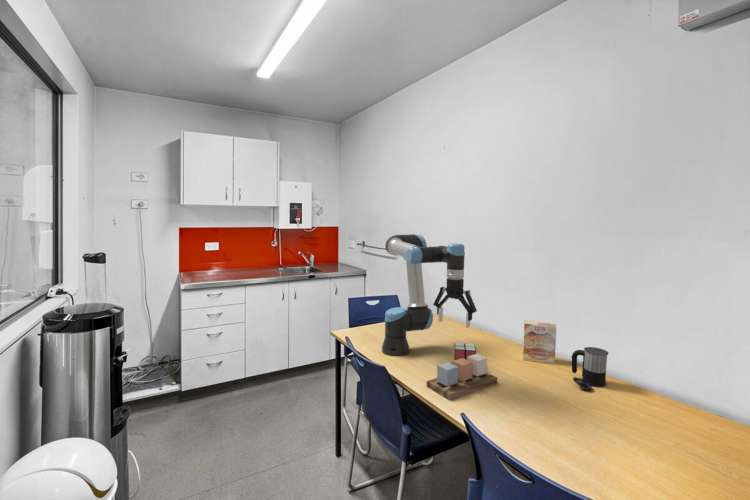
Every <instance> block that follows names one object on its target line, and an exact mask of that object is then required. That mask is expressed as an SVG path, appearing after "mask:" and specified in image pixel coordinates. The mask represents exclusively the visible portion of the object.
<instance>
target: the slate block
mask: <svg viewBox="0 0 750 500" xmlns="http://www.w3.org/2000/svg"><path fill="white" fill-rule="evenodd" d="M436 372H437V373H436V374H437V376H436V378H437V381H438V382H440V383H442V384H443V385H445V386H444V387H451V386H450V385H453V384H456V383H458V382H459V381H458V367H457V366H455V365H453V363H450V362H448V361H447V362H443V363H441V364H437V369H436Z"/></svg>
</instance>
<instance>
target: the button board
mask: <svg viewBox="0 0 750 500" xmlns="http://www.w3.org/2000/svg"><path fill="white" fill-rule="evenodd" d="M474 376H475V375H473V376H472V378H471V379H468V380H465V381H464V382H465V383H461V382H460V381H461V380H459V379H458V383H456V384H453V385H450V386H449V387H450V388H445V387H446V386H445V385H443V384H442V383H440V382H438V381H437V377H435V378H433V379H429V380H426V387H427V388H428V389H429V390H432V391H433V392H434V393H436V394H438V395H440V396H441V397H443V398H444V399H446V400H449V401H452V400H454V399H457V398H459V397H462V396H465V395H468V394H470V393H474V392H476V391H478V390H481V389H484V388H486V387H489V386H492V385H495V384H498V376H495V375H493V374H491V373H488V372H486V374H483V375H480V376H478V378H476V377H474Z"/></svg>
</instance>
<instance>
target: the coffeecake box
mask: <svg viewBox="0 0 750 500" xmlns="http://www.w3.org/2000/svg"><path fill="white" fill-rule="evenodd" d="M523 323H524V324H523V340H522V341H523V343H522V344H523V345H522V360H523V361H530V362H536V363H543V364H549V365H551V364H552V365H555V363H556V347H557V346H556V343H557V324H556V322H548V321H547V322H546V321H536V320H527V319H524V321H523Z"/></svg>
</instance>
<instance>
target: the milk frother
mask: <svg viewBox="0 0 750 500" xmlns="http://www.w3.org/2000/svg"><path fill="white" fill-rule="evenodd" d="M608 355H609V352H608V351H607V350H605V349H602V348H600V347H595V346H586V347H584V348H583V350H582V349H577V350H576V349H575V350H574V351H573V352H572V354H571V372H572V373H573V374H576V373H577V372H578V356H582V357H583V359H582V374H581V377H582V378H578V377H576V376H575V377H573V378H572V380H573V382H574V383H575V384H576V385H578V386H579V387H580V388H582V389H583V390H585V391H586V390H587V391H592V390H593V387H596V388H597V387H598V388H604V387H606V385H607V384H606V380H607V379H606V375H607V374H606V373H607V362H608Z"/></svg>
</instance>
